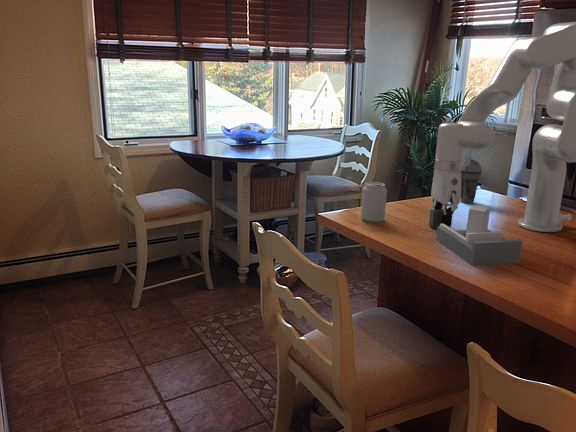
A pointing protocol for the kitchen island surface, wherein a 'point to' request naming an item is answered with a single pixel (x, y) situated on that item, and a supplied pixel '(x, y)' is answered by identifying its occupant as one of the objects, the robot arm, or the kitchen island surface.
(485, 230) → the skincare box
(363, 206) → the can
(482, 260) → the tray
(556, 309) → the kitchen island surface
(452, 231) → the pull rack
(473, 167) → the beverage cup
